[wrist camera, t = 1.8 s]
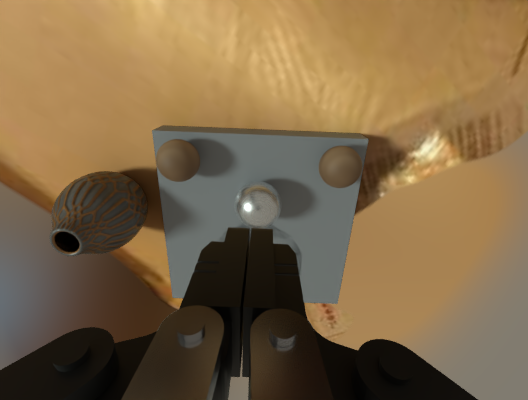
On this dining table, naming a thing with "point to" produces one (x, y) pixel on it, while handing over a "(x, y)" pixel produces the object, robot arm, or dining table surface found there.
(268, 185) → the steel ball
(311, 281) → the hole plate
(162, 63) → the dining table surface
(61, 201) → the vase
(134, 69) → the dining table surface
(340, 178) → the walnut ball
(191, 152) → the walnut ball
